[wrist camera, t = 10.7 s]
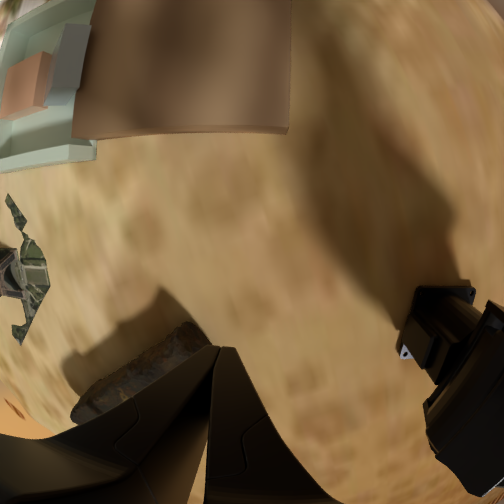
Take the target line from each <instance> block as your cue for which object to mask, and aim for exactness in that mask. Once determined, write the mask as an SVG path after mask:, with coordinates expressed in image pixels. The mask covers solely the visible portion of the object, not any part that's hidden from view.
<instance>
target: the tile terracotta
mask: <svg viewBox="0 0 504 504" xmlns="http://www.w3.org/2000/svg"><path fill="white" fill-rule="evenodd" d="M51 58H52V55H51V54H49V53H47V52H44V51H41V52H39V53H37V54H35V55H33V56H31V57H29V58H27V59H25V60H23V61H21V62H19V63H17V64H15V65H13V66H12V67H10V68H8V70H7V75H6V79H5V85H4V90H3V96H2V102H1V109H0V119H2V120H13V121H14V120H17V119H19V118H22V117H25V116H27V115H30V114H33V113H36V112H39V111H42V110H45V109H48V106H43V103H44V95H45V89H46V83H47V77H48V72H49V67H50V62H51Z"/></svg>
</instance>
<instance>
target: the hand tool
mask: <svg viewBox="0 0 504 504" xmlns="http://www.w3.org/2000/svg"><path fill="white" fill-rule="evenodd" d="M206 345H212V344H211V343H210V342H209V341H208V340H207V338H206V337H205V335H204V334H203V333H202V332H201V331H200V330H199V329H198V328H197V327H196V326H194V325H193V324H192V323H190V322H184V323H182V325H181V327H177V328H176V329H175V330H174V332H173V333H172V334H169V335H167V337H166V340H165V341H163V342H161V343H159V344H158V345H156V346H154V347H152V348H150V349H149V350H148V351H145V352H144V353H142V354H141V355H139V358H137V359H135V360H132V361H131V362H130V363H128V364H127V365H125V366H124V367H122V368H121V369H119V370H117V371H116V372H114V373H113V374H111V375H109V376H108V377H106V378H104V379H103V380H101V379H100V380H98V381H97V382H96V383H95V384H93V385H92V386H91V387H90V388H89V389H88V390H87V392H86V393H85V394H84V395H83V396H81V397H80V399H79V401H78V403H77V404H76V405H75V406H74V408H73V409H72V411H71V415H70V418H71V420H72V422H74V423H76V424H78V425H80V424H82V423H84V422H87V421H89V420H91V419H93V418H95V417H97V416H99V415H101V414H103V413H105V412H107V411H108V410H110V409H112V408H114V407H115V406H117V405H119V404H120V403H122V402H123V401H125V400H127V399H128V398H130V397H132V398H133V395H134V394H136V393H138V392H139V391H141V390H142V389H144V388H145V387H147V386H148V385H150V384H151V383H153V382H154V381H156V380H157V379H159V378H160V377H162V376H163V375H164V374H166V373H167V372H169V371H170V370H172V369H173V368H175V367H176V366H178V365H179V364H181V363H182V362H183V361H185V360H186V359H188V358H189V357H191V356H192V355H193V354H195V353H196V352H198V351H199V350H201V349H202V348H203V347H205V346H206Z"/></svg>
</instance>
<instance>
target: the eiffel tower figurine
mask: <svg viewBox="0 0 504 504" xmlns="http://www.w3.org/2000/svg"><path fill="white" fill-rule="evenodd" d="M5 202H6V204H7V206H8V207H9V209H11V213H12V216H13V217H14V223H15V226H16V227H17V228H18V229H19V230H20V231H21V233H22V235H23V238H24V241H23V243H22V246H21V251H20V260H19V258H18V252H17V248H0V297H1V296H2V295H3V296H8V297H13V298H18V299H21V301H22V304H23V308H24V312H25V318H26V324H24V325H23V326H17V325H12V335H13V336H14V338H15V339H16V340H17V342H18V343H19V344H20V345H22V342H23V340H24V338H25V336H26V334H27V331H28V329H29V327H30V325H31V323H32V320H33V318H34V316H35V314H36V312H37V310H38V308H39V306H40V304H41V302H42V300H43V298H44V296H45V295H46V293H47V291H48V289H49V288H50V281H49V276H48V271H47V265H46V259H45V258H44V255H43V253H42V251H41V249H40V248H39V247H38V246H37V245H36V243H35V241H34V240H32V239H30V238H28V235H27V234H25V233H24V232H22V230H23V228H24V226H25V224H26V222H27V220H26V219H25V218H24V216H23V215H22V214H21V212H20V211H19V209H18V208H17V207H16V205H15V204H14V203H13V201H12V200H11V198H10V196H9V195H8V194H7V197H6V200H5Z"/></svg>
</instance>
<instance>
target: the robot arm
mask: <svg viewBox="0 0 504 504" xmlns="http://www.w3.org/2000/svg"><path fill="white" fill-rule="evenodd" d="M421 291H423V293H422V294H421V295H420V292H421ZM470 292H471V293H470ZM475 294H476V289H475V288H474V287H472V286H419V287H418V288H417V289H416V291H415V295H414V299H413V303H412V307H411V311H410V313H409V315H408V319H407V322H406V326H405V329H404V333H403V336H402V343H401V346H400V350H399V356H400V358H401V359H411V358H414V359H415V361H416V362H417V364H418V365H419V367H420V368H421V369H425V370H426V372H427V373H428V375H429V376H430V378H431V379H432V381H433V382H434V384H435V385H438V386H437V388H436V389H435V390H434V392H433V393H432V394H431V396H430V397H429V398H427V399H426V400H425V402H424V403H423V409H424V415H425V422H426V436H427V438H428V441H429V445H430V448H431V450H432V451H433V452H434V453H435V454H436V455H435V458H436V459H437V460H438V461H440V462H441V463H443V464H444V465H446V466H447V467H448V468H449V469H450V470H451V471H452V472H453V473H454V474H455V475H456V476H457V478H458V479H459V480H460V482H461V483H462V485H463V486H464V488H465V489H466V491H467V492H468V493H470V494H472V495H475V496H477V497H484V496H485V495H486V494H487V493H488V492H490V491H491V490H492V489H493V488H494V487H500V488H504V307H502V306H500V305H498V304H496V303H495V302H493V301H491V300H488V302H487V304H486V306H485V307H486V308H485V310H484V312H483V314H482V313H481V312H480V311H478V310H477V309H476V308H475V307H473V306H472V305H473V301H474V298H475ZM404 352H406V353H405V354H403V353H404ZM207 439H208V441H207ZM206 442H207V458H206V477H205V481H206V482H205V494H204V502H203V504H344V503H342V502H339V501H337V500H336V499H334V498H333V497H331V496H330V495H329V494H327V493H326V492H325V491H324V490H323V489H322V488H321V487H320V486H319V485H318V483H317V482H316V481H315V480H314V479H313V478H312V476H311V475H310V474H309V473H308V472H307V470H306V469H305V468H304V467H303V466H302V464H301V463H300V462H299V461H298V460H297V458H296V457H295V456H294V455H293V453H292V452H291V451H290V449H289V448H288V447H287V445H286V444H285V442H284V441H283V440H282V438H281V436H280V435H279V433H278V431H277V430H276V428H275V426H274V424H273V423H272V421H271V419H270V417H269V416H268V413H267V411H266V409H265V407H264V405H263V403H262V401H261V399H260V397H259V395H258V393H257V391H256V389H255V387H254V385H253V383H252V381H251V379H250V377H249V375H248V373H247V371H246V369H245V367H244V365H243V363H242V361H241V358H240V356H239V354H238V352H237V350H236V348H235V347H225V346H223V347H220V346H214V345H206V346H205V347H203V348H202V349H201V350H199V351H198V352H196V353H195V354H193V355H192V356H191V357H189V358H188V359H186V360H185V361H183V362H182V363H181V364H179V365H178V366H176V367H175V368H173V369H172V370H170V371H169V372H167V373H166V374H164V375H163V376H162V377H160V378H159V379H157V380H156V381H154V382H153V383H151V384H150V385H148V386H147V387H145V388H144V389H142V390H141V391H139V392H138V393H136V394H134V395H133V398H132V397H130V398H128V399H127V400H125V401H123V402H122V403H120V404H119V405H117V406H115V407H114V408H112V409H110V410H108V411H107V412H105V413H103V414H101V415H99V416H97V417H95V418H93V419H91V420H89V421H87V422H84V423H82V424H80V425H78V426H76V427H73V428H71V429H69V430H67V431H64V432H62V433H60V434H57V435H55V436H52V437H49V438H45V439H25V438H20V437H14V436H9V435H5V434H0V504H187V501H188V498H189V495H190V492H191V489H192V486H193V483H194V480H195V477H196V474H197V470H198V467H199V464H200V461H201V458H202V455H203V451H204V448H205V445H206Z"/></svg>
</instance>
